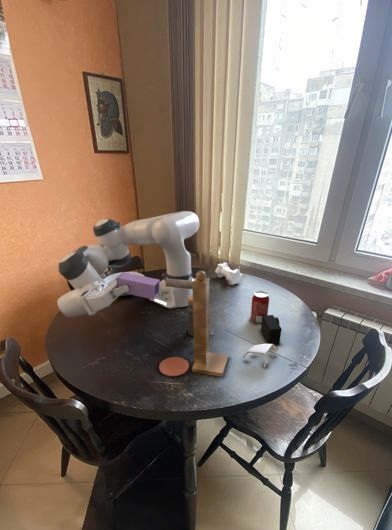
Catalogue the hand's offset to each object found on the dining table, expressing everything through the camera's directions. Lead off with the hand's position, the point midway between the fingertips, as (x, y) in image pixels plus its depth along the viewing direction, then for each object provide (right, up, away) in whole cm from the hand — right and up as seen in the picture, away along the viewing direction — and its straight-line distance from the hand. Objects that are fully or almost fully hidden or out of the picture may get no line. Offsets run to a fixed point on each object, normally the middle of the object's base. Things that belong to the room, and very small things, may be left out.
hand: (132, 283), depth 92 cm
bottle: (+19, -15, +27) cm, 36 cm away
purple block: (+1, -3, +1) cm, 3 cm away
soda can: (+45, -10, +34) cm, 57 cm away
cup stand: (+20, -25, +10) cm, 34 cm away
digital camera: (+48, -17, +23) cm, 56 cm away
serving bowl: (-16, +6, +61) cm, 63 cm away
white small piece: (+42, -24, +11) cm, 50 cm away
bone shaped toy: (+36, +13, +71) cm, 81 cm away
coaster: (+12, -26, +9) cm, 30 cm away
